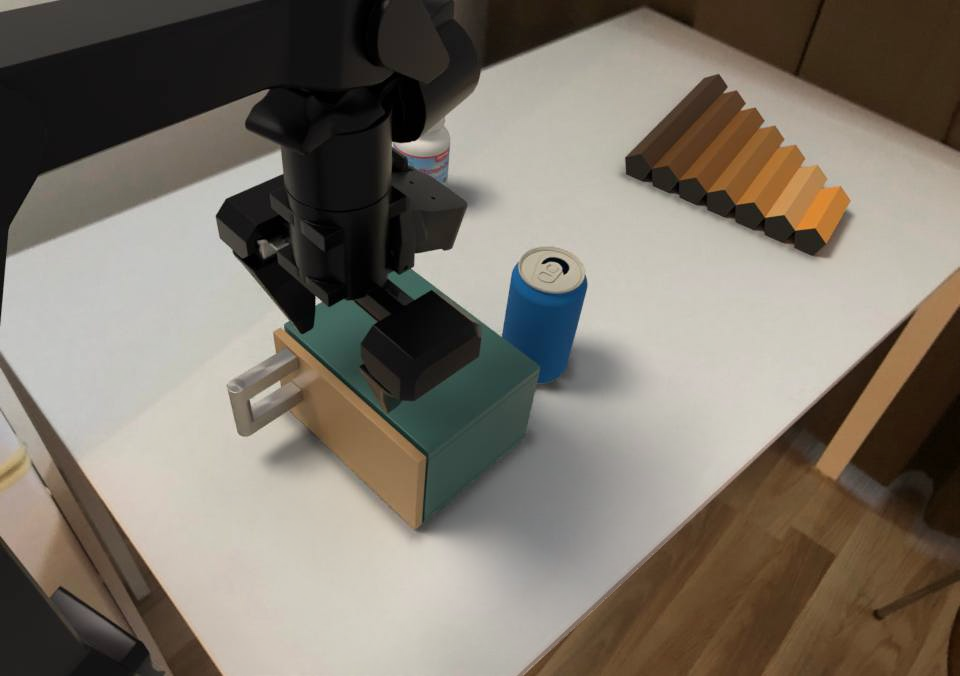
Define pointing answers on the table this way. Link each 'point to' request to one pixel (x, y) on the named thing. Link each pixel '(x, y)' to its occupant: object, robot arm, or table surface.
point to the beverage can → (545, 307)
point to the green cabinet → (437, 395)
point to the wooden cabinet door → (332, 423)
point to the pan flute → (738, 167)
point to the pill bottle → (429, 152)
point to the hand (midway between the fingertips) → (347, 367)
